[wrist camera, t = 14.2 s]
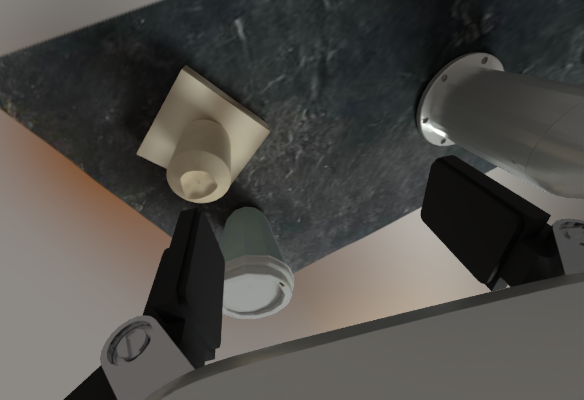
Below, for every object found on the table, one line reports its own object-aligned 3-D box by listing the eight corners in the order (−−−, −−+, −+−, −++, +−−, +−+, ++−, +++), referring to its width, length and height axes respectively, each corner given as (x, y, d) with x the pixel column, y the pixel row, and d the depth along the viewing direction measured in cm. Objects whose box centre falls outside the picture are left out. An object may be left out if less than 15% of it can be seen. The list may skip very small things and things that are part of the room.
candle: (209, 171, 32) (203, 222, 24) (170, 141, 29) (148, 188, 21) (240, 142, 30) (244, 185, 22) (202, 108, 27) (192, 143, 19)
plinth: (267, 123, 33) (270, 131, 30) (222, 184, 37) (222, 196, 34) (185, 64, 27) (181, 69, 25) (143, 143, 31) (136, 154, 29)
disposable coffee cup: (241, 253, 45) (245, 336, 33) (196, 218, 39) (182, 305, 27) (289, 222, 43) (313, 299, 31) (251, 180, 37) (261, 256, 25)
